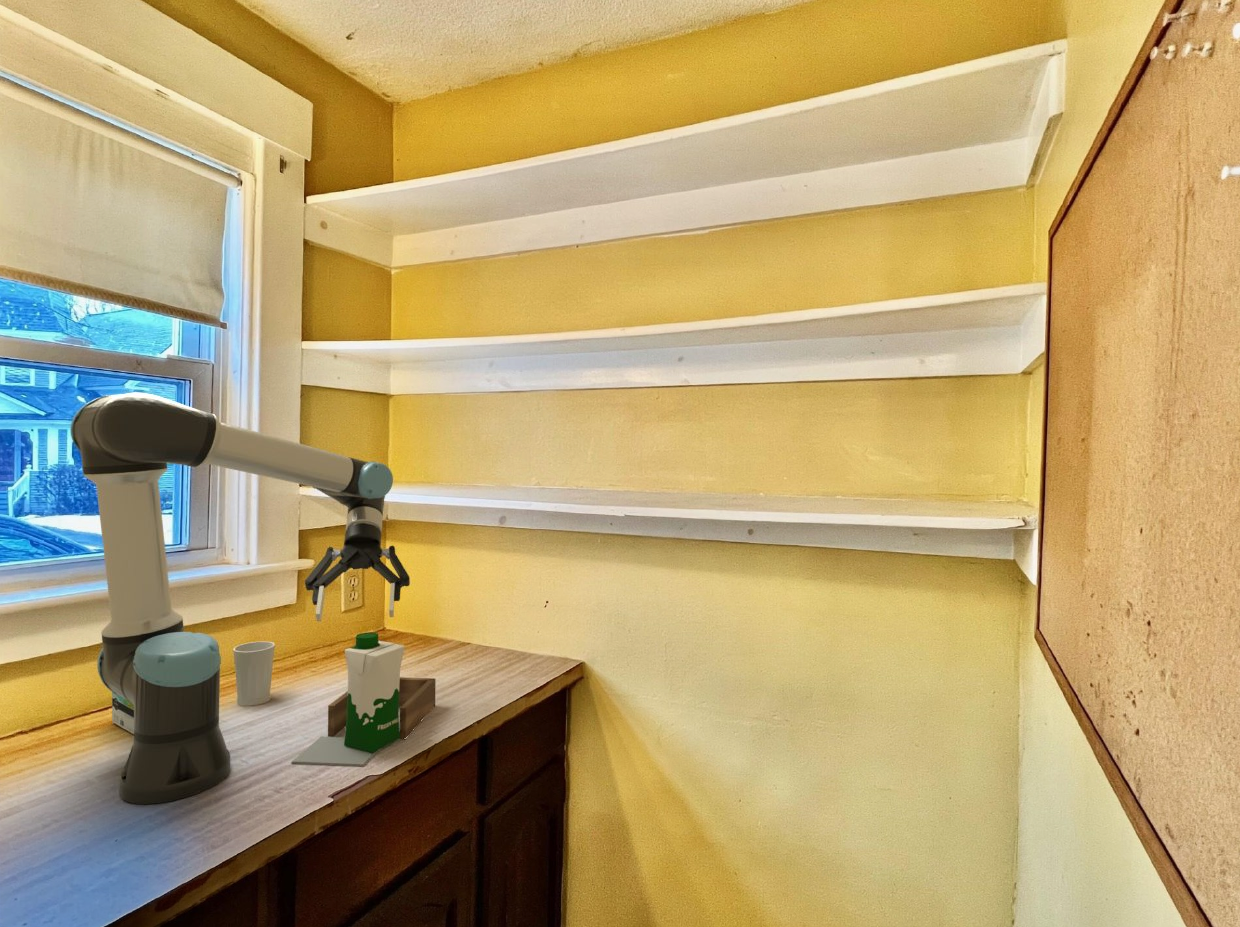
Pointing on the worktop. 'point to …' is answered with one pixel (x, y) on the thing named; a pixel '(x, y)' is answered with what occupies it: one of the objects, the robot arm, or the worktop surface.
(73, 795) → the worktop surface
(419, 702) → the wooden tray
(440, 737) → the worktop surface
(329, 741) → the mat
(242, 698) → the cup
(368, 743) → the soya milk
